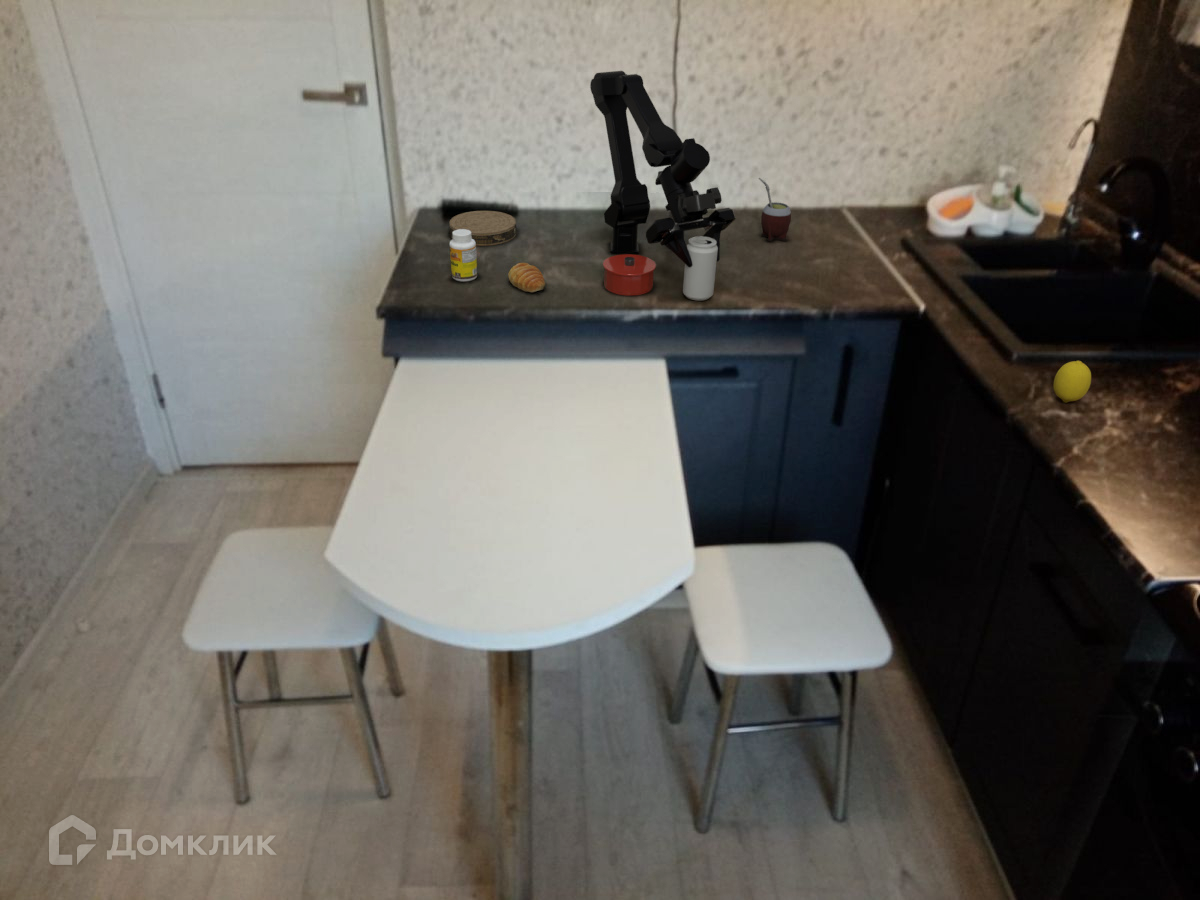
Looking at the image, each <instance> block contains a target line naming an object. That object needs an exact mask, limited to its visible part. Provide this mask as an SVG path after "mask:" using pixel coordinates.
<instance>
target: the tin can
mask: <svg viewBox="0 0 1200 900" xmlns="http://www.w3.org/2000/svg"><path fill="white" fill-rule="evenodd" d="M458 229H466V230H470V231H471V236H472V239H473V240H474V241H475V242H476V247H477V246H478V247H481V246H483V247H484V246H487V247H488V246H497V245H501V244H505V243H508V242H510V241H511V240H513V239H515V237H517V236H516V235H517V222H516V218H515V217H514V216H512V215H510V214H508V213H505V212H502V211H497V210H496V211H495V210H473V211H466V212H461V213H459V214H457V215H455V216H453V217H451V219H450V220H449V231H450V232H449V234H450V235H449V236H450V238H451V240H452V239H453V238H452V237H453V235H452V232H453V231H455V230H458Z"/></svg>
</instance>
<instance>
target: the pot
mask: <svg viewBox="0 0 1200 900" xmlns="http://www.w3.org/2000/svg"><path fill="white" fill-rule="evenodd" d="M603 269H604V271H603V274H604V275H603V284H604V285H603V286H604V288H605V289H606V290H607V291H608V292H610V293H613V294H616V295H619V296H640V295H645V294H647V293H649V292H650V291H652V289H653V288H654V276H655V270H654V271H653V272H651V273H649V274H645V275H640V276H622V275H617V274H613V273H611V272H608V271H607V270H605V268H604V267H603Z"/></svg>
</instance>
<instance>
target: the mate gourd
mask: <svg viewBox="0 0 1200 900" xmlns="http://www.w3.org/2000/svg"><path fill="white" fill-rule="evenodd" d="M758 180H759V181H760V182H761V183H762V184H763V185H764V186H765V191H766V193H767V197H768V203H767V204H766V205H764V207H763V208H762V211H761V217H760V218H761V220H760V221H761V222H760V223H761V231H762V233H761V234H760V236H761V237H764V238H767V239H766V242H767V243H771V242H772V241H774V240H777V241H782V242H786V241H787V238H786V236H787V234H788V232H789V228H790V225H791V222H792V210H791V208H790V206H789V205H788V204H786V203H783V202H777V201H775V202H773V201H772V197H771V192H770V190H771V189H770V186H769V185H768V183H767V182H766V181H765V180H763V179H762V178H760V177H758Z"/></svg>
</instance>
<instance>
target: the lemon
mask: <svg viewBox="0 0 1200 900" xmlns="http://www.w3.org/2000/svg"><path fill="white" fill-rule="evenodd" d="M1091 383H1092V372H1091V369H1090V368H1089V367H1088V366H1087V365H1086V364H1085V363H1083V362H1082V361H1081V360H1076V361H1075V360H1073V361H1068V362H1067V363H1064V364H1063V365H1062V366H1061V367H1060V368H1059V369H1058V370H1057V372H1056V374H1055V376H1054V380H1053V384H1052V385H1053V391H1054V393H1055V395H1056V396H1057V397H1058V398H1059V399H1061V401H1062V402H1063V403H1070V402H1077V401H1079V400H1080V399H1082V398H1083V397H1084V396H1086V394H1087V393H1088V391H1089V389H1090V387H1091Z"/></svg>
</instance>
